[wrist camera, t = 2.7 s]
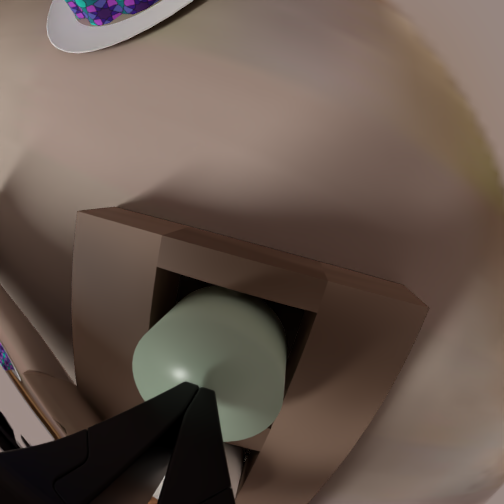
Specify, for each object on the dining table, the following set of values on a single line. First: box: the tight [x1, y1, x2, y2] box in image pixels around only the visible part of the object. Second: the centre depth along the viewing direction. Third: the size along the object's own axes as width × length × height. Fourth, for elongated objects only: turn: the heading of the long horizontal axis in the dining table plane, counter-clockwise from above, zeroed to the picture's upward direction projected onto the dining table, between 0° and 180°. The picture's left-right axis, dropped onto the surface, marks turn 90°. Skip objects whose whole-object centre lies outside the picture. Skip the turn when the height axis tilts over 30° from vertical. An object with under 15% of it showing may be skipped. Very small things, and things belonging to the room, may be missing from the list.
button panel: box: [72, 207, 429, 504], centre depth 12 cm, size 20×12×2 cm, turn 166°
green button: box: [132, 286, 287, 442], centre depth 9 cm, size 4×4×3 cm
